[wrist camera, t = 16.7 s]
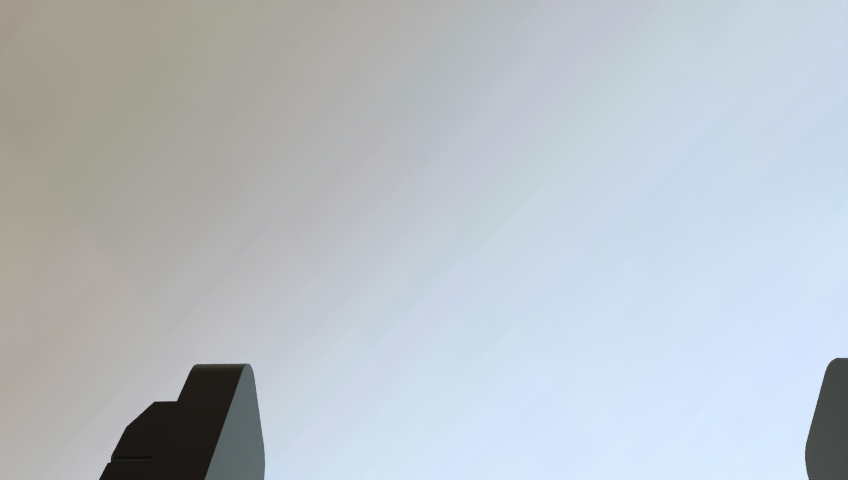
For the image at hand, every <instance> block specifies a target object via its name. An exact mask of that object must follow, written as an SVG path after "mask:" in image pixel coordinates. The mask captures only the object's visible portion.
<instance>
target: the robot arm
mask: <svg viewBox="0 0 848 480" xmlns="http://www.w3.org/2000/svg"><path fill="white" fill-rule="evenodd" d="M805 461H806V469H807V474H808V478H809V480H848V358H836V359H834V360H832V361H831V362H830V364H829V365H828V367H827V369H826V372H825V375H824V379H823V382H822V386H821V390H820V394H819V397H818V401H817V405H816V409H815V412H814V416H813V420H812V424H811V427H810V431H809V435H808V439H807V443H806V449H805ZM264 472H265V454H264V444H263V437H262V430H261V422H260V415H259V408H258V401H257V394H256V386H255V379H254V373H253V370H252V367H251V365H250V364H196V365H194V366H193V368H192V369H191V371H190V373H189V375H188V378H187V380H186V382H185V384H184V387H183V389H182V391H181V393H180V395H179V398H178V400H177V401H167V402H154V403H153V404H151V405H150V406H149V407H148V408H147V409H146V410H145V411H144V412H143V413H141V414H140V415H139V416H138V417H137V418H136V419H135V420H134V421H133V422H131V423H130V424H129V425H128V426H127V427H126V429H125V431H124V433H123V434H122V436H121V438H120V440H119V442H118V444H117V446H116V448H115V450H114V452H113V454H112V456H111V462H110V463H108V464H107V465H106V467H105V469H104V471H103V473H102V475H101V477H100V479H99V480H264Z"/></svg>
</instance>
